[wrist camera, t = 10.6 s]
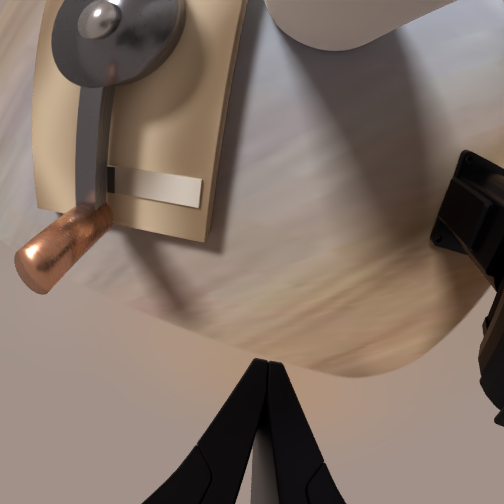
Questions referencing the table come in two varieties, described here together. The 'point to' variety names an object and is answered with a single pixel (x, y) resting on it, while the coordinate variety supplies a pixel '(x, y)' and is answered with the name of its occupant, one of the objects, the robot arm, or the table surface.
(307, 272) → the table surface
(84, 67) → the lever
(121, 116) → the stand
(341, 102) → the table surface
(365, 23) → the can
